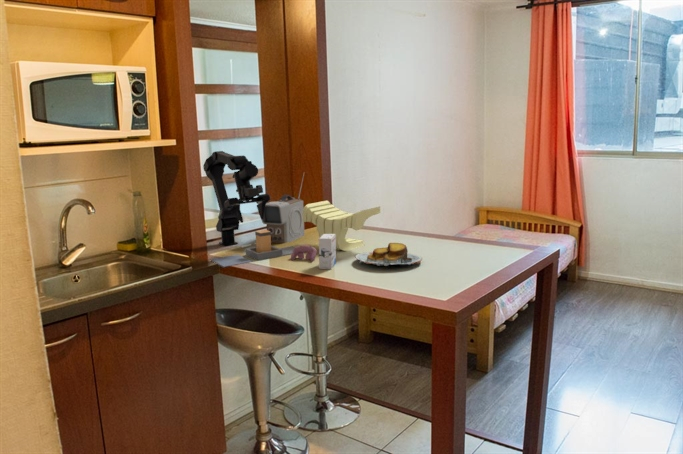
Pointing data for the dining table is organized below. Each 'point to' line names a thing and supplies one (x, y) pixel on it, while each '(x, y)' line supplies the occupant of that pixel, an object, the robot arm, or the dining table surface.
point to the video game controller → (304, 249)
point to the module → (263, 241)
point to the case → (269, 252)
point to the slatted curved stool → (337, 222)
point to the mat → (230, 260)
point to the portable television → (284, 219)
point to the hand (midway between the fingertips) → (252, 221)
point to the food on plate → (389, 256)
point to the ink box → (327, 251)
